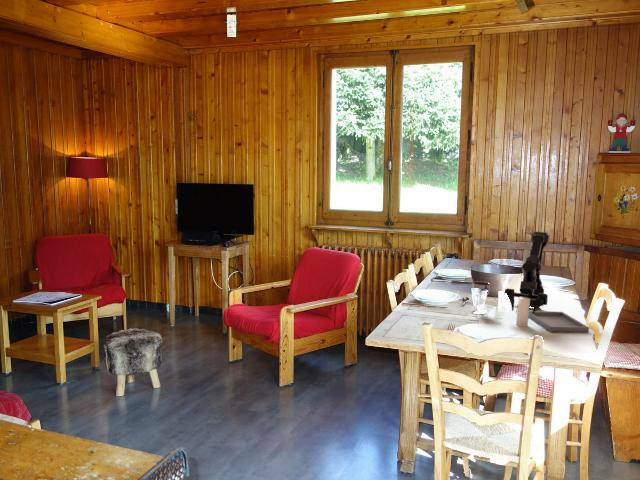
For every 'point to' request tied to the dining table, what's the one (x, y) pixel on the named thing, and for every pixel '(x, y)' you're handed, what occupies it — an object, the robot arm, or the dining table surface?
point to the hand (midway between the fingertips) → (522, 312)
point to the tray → (558, 322)
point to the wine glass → (481, 286)
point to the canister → (523, 311)
